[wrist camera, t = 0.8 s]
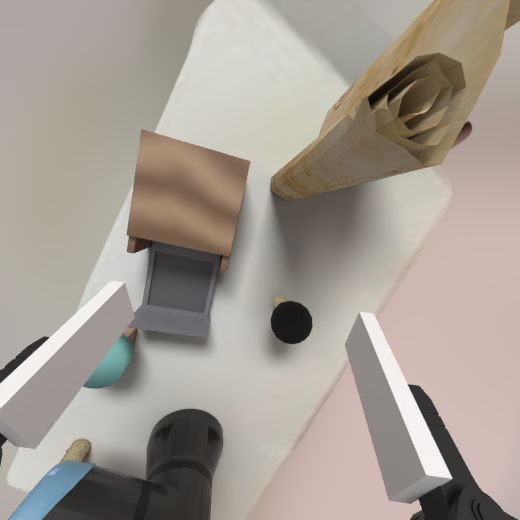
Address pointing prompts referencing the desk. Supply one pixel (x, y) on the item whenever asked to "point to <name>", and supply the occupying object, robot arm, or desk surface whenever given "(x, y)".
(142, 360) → the desk surface
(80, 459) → the lighter
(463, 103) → the tan piece
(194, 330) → the tray
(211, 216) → the box
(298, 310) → the light bulb
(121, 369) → the teal rounded puck
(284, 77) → the desk surface
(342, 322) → the desk surface
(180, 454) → the robot arm
